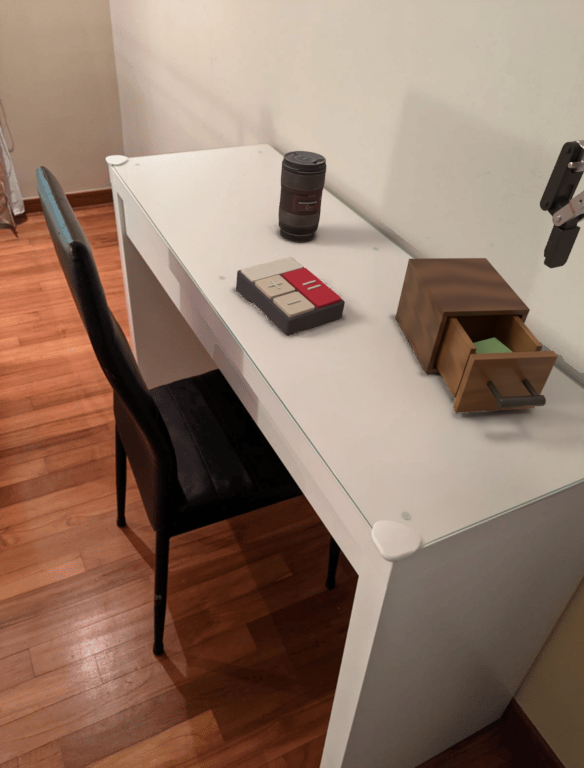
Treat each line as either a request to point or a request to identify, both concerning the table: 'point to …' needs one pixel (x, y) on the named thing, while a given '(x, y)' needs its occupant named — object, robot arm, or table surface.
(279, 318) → the calculator
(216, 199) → the table surface
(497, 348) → the block
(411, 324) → the cabinet
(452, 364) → the drawer
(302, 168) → the camera lens
